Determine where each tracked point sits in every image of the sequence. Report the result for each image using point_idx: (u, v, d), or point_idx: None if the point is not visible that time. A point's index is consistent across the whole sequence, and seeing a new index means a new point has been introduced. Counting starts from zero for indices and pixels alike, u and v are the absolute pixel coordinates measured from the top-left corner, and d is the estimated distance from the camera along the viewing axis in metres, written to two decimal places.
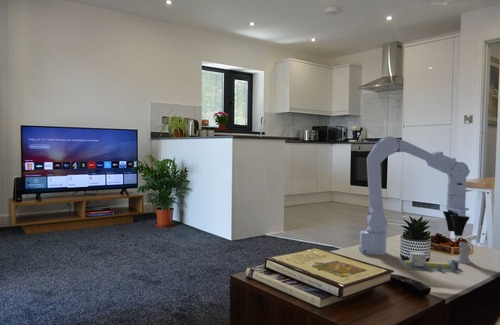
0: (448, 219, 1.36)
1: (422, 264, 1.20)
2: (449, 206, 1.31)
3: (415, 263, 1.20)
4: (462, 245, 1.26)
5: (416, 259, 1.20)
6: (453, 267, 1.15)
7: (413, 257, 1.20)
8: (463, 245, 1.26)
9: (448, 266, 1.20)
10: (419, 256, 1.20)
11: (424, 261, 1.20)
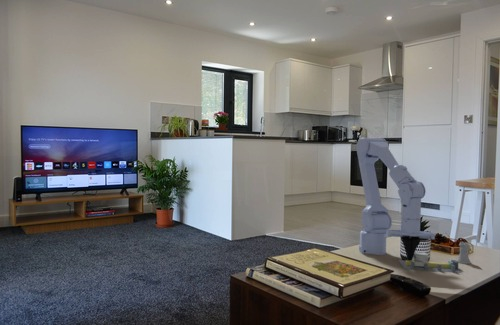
0: None
1: None
2: None
3: (418, 263, 1.20)
4: (462, 245, 1.26)
5: (418, 259, 1.20)
6: (453, 267, 1.15)
7: (416, 257, 1.20)
8: (463, 245, 1.26)
9: (448, 266, 1.20)
10: (422, 256, 1.20)
11: (427, 261, 1.19)
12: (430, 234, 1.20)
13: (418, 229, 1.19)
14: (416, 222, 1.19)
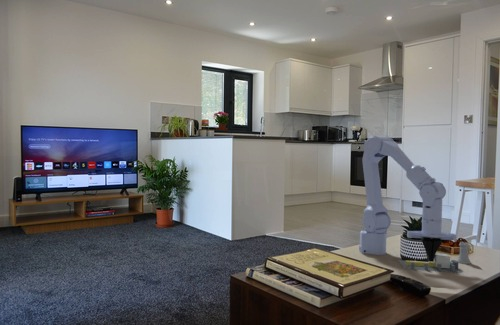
0: None
1: (446, 266, 1.18)
2: None
3: None
4: (462, 245, 1.26)
5: (440, 260, 1.19)
6: (453, 267, 1.15)
7: (437, 259, 1.19)
8: (463, 245, 1.26)
9: None
10: (443, 258, 1.19)
11: (448, 263, 1.18)
12: (451, 235, 1.19)
13: (439, 230, 1.18)
14: (438, 223, 1.18)
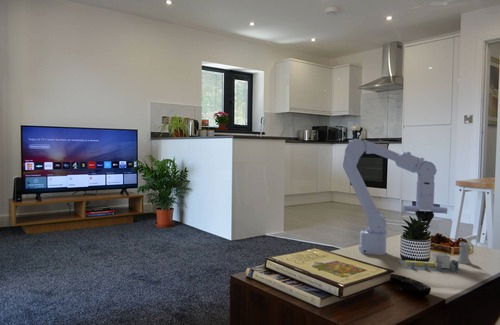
0: None
1: (446, 266, 1.18)
2: None
3: None
4: (462, 245, 1.26)
5: (440, 260, 1.19)
6: (453, 267, 1.15)
7: (437, 259, 1.19)
8: (463, 245, 1.26)
9: None
10: (443, 258, 1.19)
11: (448, 263, 1.18)
12: (443, 209, 1.30)
13: (432, 204, 1.30)
14: (430, 197, 1.30)
